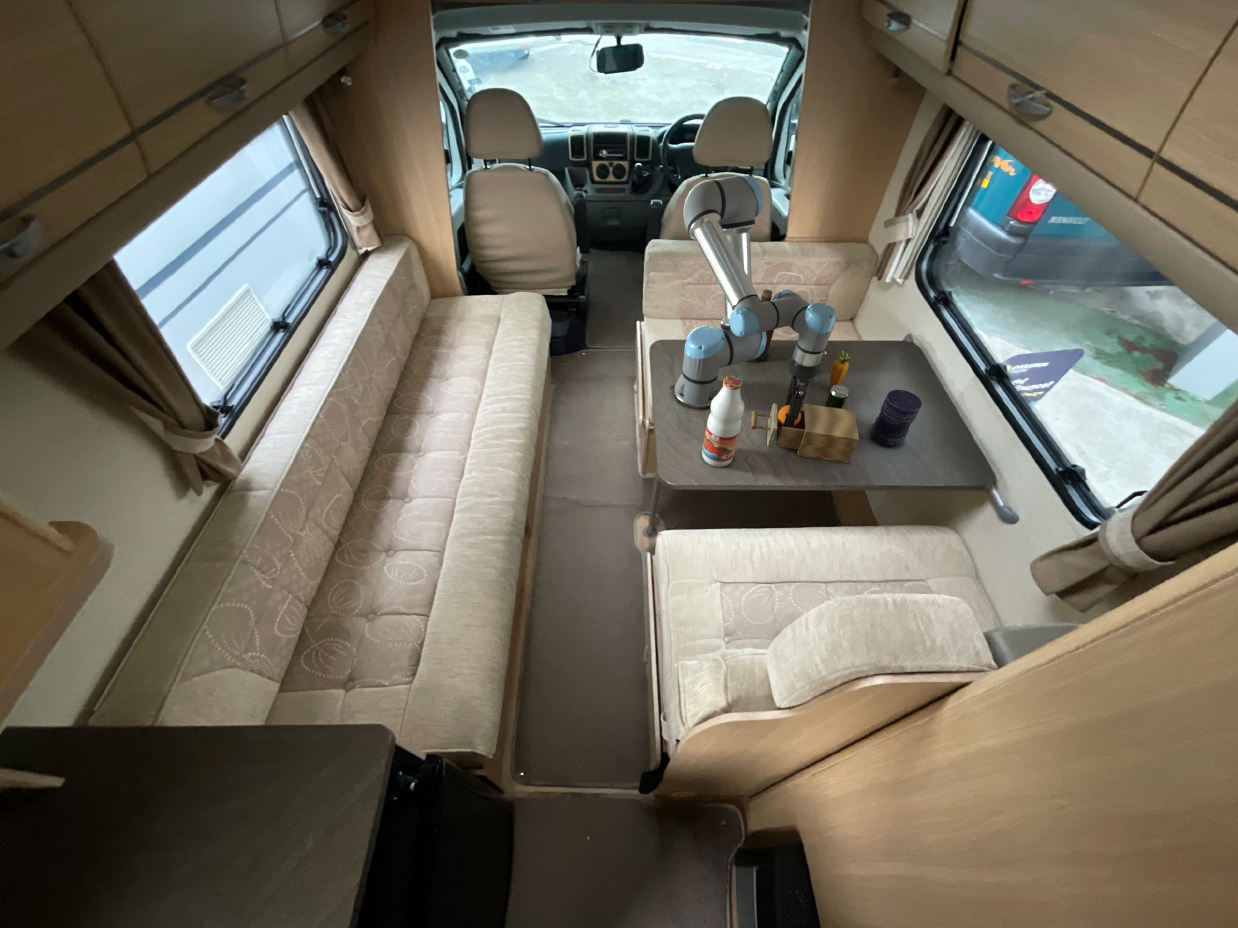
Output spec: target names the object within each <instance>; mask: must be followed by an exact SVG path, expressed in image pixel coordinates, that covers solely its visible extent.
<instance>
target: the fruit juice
mask: <svg viewBox="0 0 1238 928" xmlns="http://www.w3.org/2000/svg"><path fill="white" fill-rule="evenodd" d="M742 387H743V380H742V379H741V378H740V377H738V376H737V375H736V376H735V375H727V376H725V377H724V378H723V381H722V387H721V388H722V389H721V388H720V389H721V391H720V392H719V393H718V395H716V396H715V397H714V399H713V400H712V403H711V407H710V414H709V415H708V418H707V421H706V427H705V431H704V432H705V433H704V438H703V443H702V449H701V456H702V459H703V461H704V462H705V463H707V464H709V465H710V466H714V467H721V468H722V467H726V466H728V465H730V464H731V463H732V461H733V460H734V458H735V457H734V456H735V452H736V449H737V445H738V440H739V437H740V432H741V429H742V417H743V415H744V413H745V402H744V400H743V398H742V395H741V389H742Z"/></svg>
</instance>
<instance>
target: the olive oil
mask: <svg viewBox="0 0 1238 928" xmlns="http://www.w3.org/2000/svg"><path fill="white" fill-rule="evenodd" d="M772 299H773V291H772V290H771V289H764V290H763V291H762V294H761V297H760V300H761V302H762V303H763V302H767V301H772ZM774 332H775V329H774V330H768V331H766V337H767V340H766V346H765V349H764V351H763V353H762V354H761V355H760V356H759V357H757V358H755V359H752V360H750V361H749V362H753V363H756V362H757V363H758V362H762V361H764V360H766V358H767V356H768V352H769V349H770V346H771V342H772V339H773V335H774Z"/></svg>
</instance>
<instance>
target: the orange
mask: <svg viewBox="0 0 1238 928" xmlns="http://www.w3.org/2000/svg"><path fill="white" fill-rule="evenodd" d="M782 407H783V408H782ZM782 407H781V408H780V410H778V412H777V420H778V419H779V422H780V423H781V424H782V425H783V424H784V421H785V418H786V416H785V413H788V412H789V407H790V405H787V406H782ZM800 419H801V413H799V416H798V420H795V422H794V425H793V426H795V425H797V424H798V423H799V421H800Z"/></svg>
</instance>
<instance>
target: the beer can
mask: <svg viewBox="0 0 1238 928" xmlns="http://www.w3.org/2000/svg"><path fill="white" fill-rule="evenodd" d="M848 397H849V388H848V387H847V386H846V385H844V384H843V385H842V384H840V385H834V386H833V387H832V388H830V390H829V393H828V395H827V399H826V401H825V404H824V407H831V408H838V409H844V406H845V404H846V401H847V399H848Z"/></svg>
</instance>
